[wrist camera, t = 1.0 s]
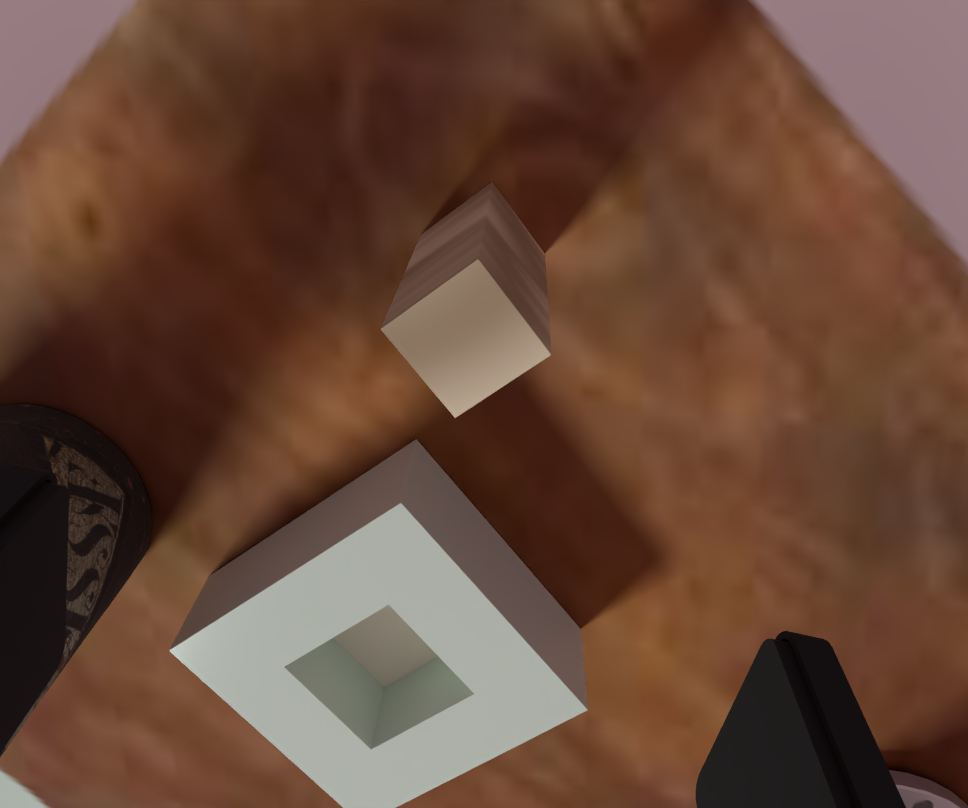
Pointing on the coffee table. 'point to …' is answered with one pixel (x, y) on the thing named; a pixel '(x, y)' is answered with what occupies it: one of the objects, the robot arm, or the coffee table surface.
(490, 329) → the birch stick
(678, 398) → the coffee table surface
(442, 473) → the grey square socket block
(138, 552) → the container
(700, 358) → the coffee table surface
